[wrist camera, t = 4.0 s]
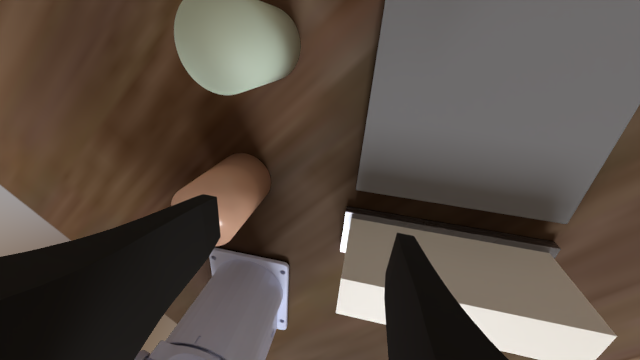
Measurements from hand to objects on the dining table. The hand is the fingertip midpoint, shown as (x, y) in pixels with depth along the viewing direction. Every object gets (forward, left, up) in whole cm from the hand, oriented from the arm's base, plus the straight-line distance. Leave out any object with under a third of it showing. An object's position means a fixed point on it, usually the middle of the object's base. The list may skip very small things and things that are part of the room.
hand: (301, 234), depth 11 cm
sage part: (+6, +5, -10) cm, 13 cm away
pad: (+4, -9, -10) cm, 14 cm away
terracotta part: (-4, +7, -10) cm, 13 cm away
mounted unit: (-7, -9, -10) cm, 15 cm away
